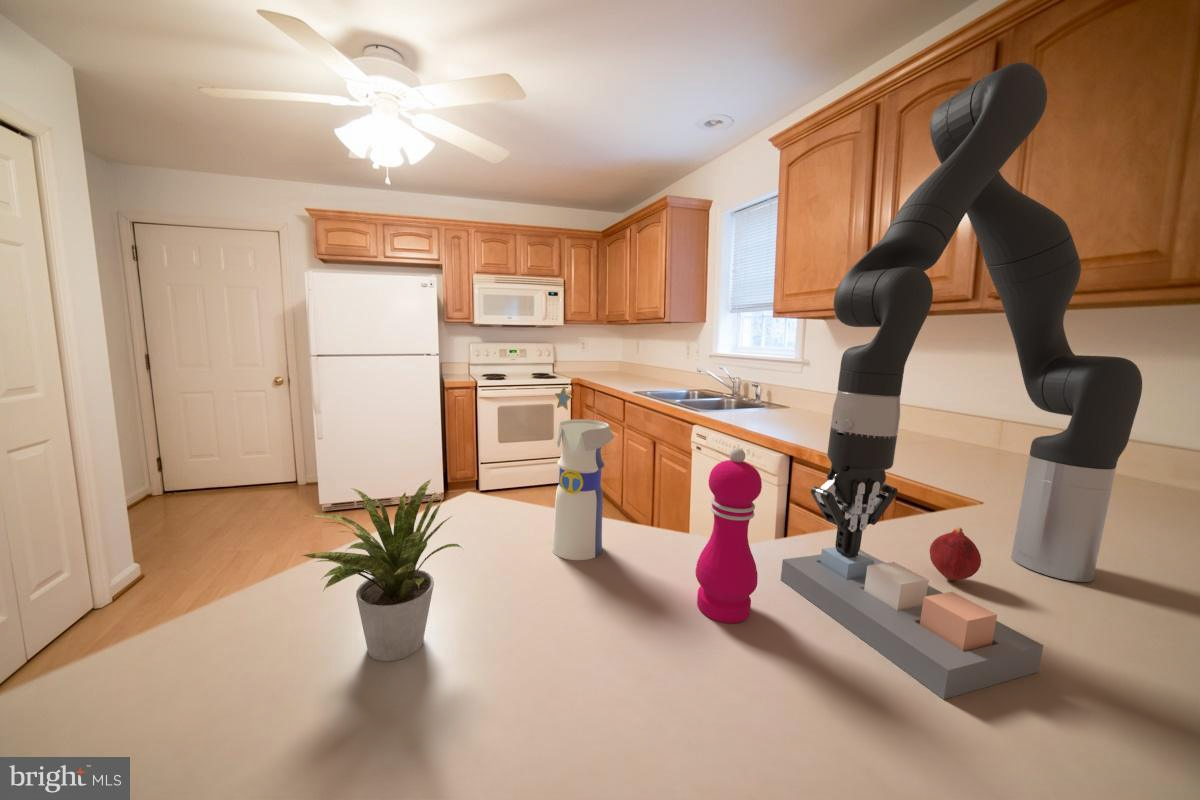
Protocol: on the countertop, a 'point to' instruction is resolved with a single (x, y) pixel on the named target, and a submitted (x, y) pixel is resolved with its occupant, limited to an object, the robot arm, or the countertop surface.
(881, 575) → the white key
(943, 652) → the board
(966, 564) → the onion
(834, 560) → the blue key
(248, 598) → the countertop surface
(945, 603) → the terracotta key
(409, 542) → the house plant
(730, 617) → the pepper mill
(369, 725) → the countertop surface
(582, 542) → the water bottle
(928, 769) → the countertop surface
